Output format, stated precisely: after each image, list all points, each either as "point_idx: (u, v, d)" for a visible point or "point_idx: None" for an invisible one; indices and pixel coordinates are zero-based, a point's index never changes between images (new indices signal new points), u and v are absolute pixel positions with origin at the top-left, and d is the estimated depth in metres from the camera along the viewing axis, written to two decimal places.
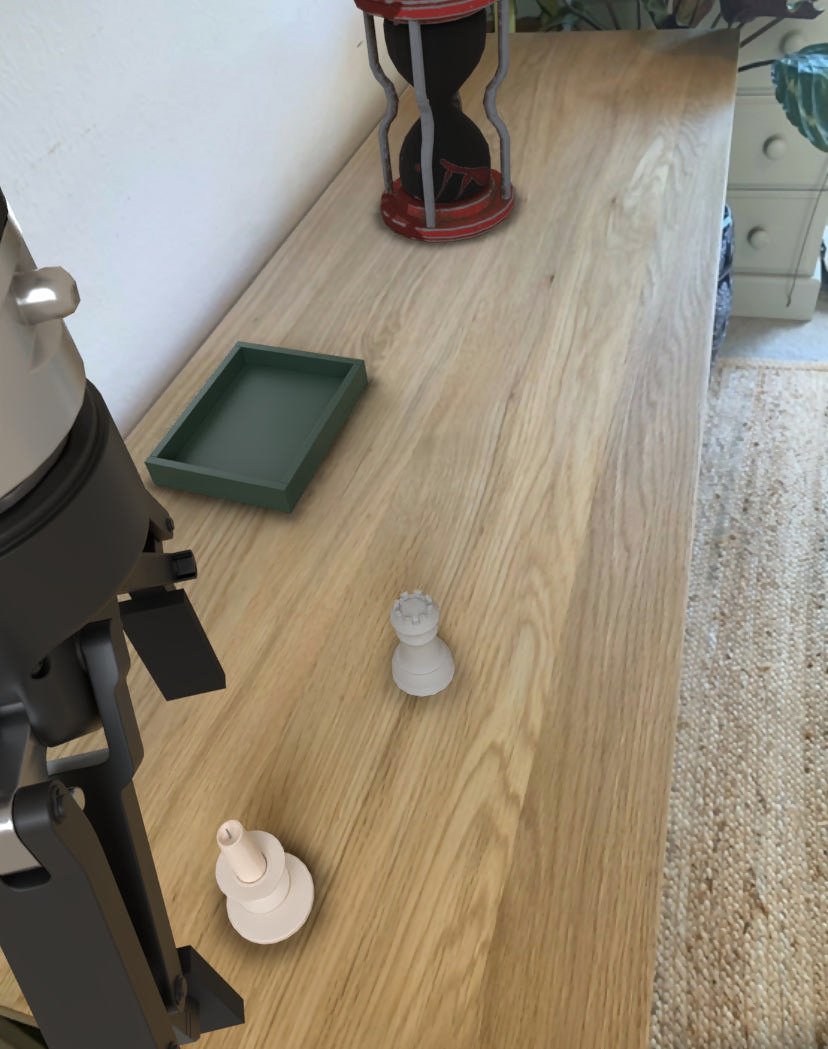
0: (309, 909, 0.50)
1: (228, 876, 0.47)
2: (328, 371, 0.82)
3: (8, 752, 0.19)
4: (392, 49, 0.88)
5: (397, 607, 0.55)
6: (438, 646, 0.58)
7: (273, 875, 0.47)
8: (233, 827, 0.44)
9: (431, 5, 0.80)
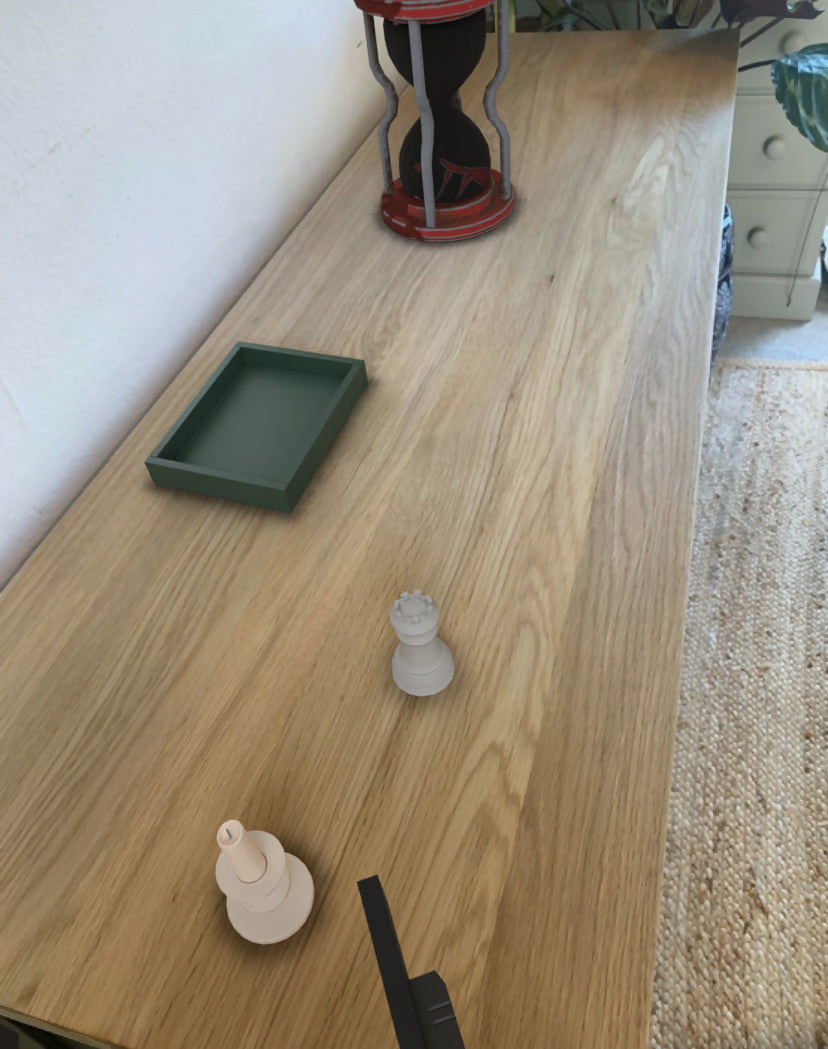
0: (309, 909, 0.50)
1: (229, 876, 0.47)
2: (328, 371, 0.82)
3: None
4: (392, 49, 0.88)
5: (397, 607, 0.55)
6: (438, 646, 0.58)
7: (273, 875, 0.47)
8: (233, 827, 0.44)
9: (431, 5, 0.80)
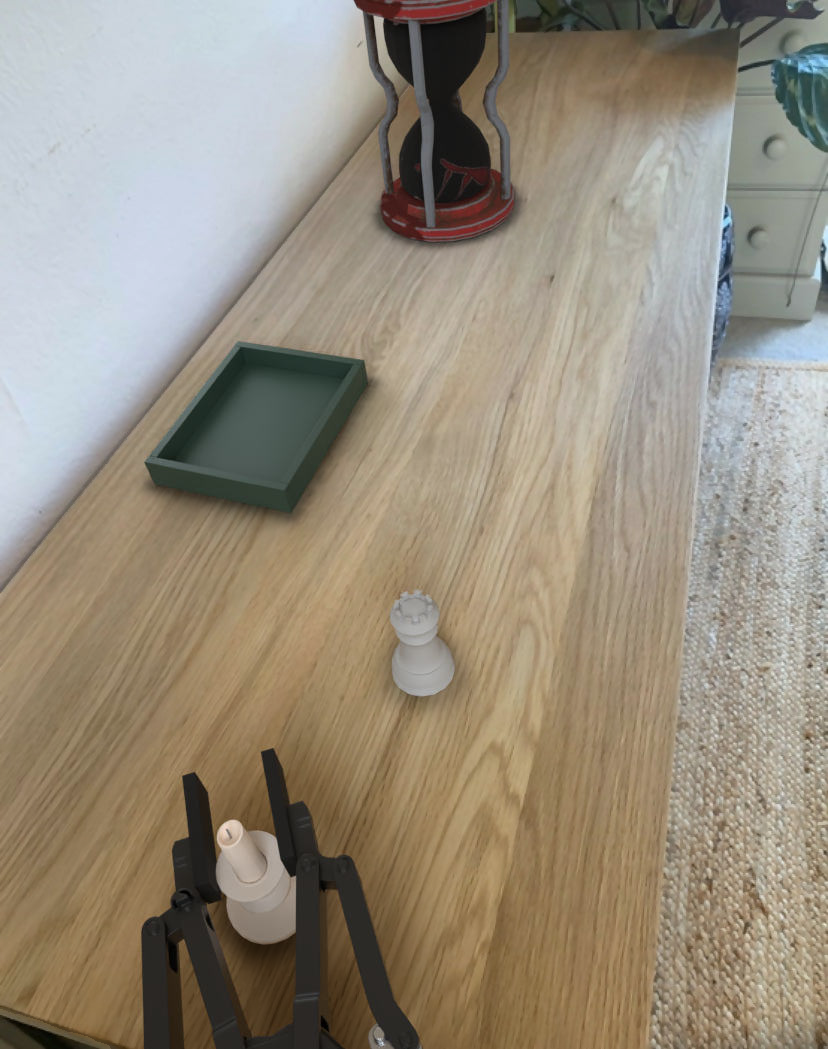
0: None
1: (229, 876, 0.47)
2: (328, 371, 0.82)
3: None
4: (392, 49, 0.88)
5: (397, 607, 0.55)
6: (438, 646, 0.58)
7: (273, 875, 0.47)
8: (233, 827, 0.44)
9: (431, 5, 0.80)
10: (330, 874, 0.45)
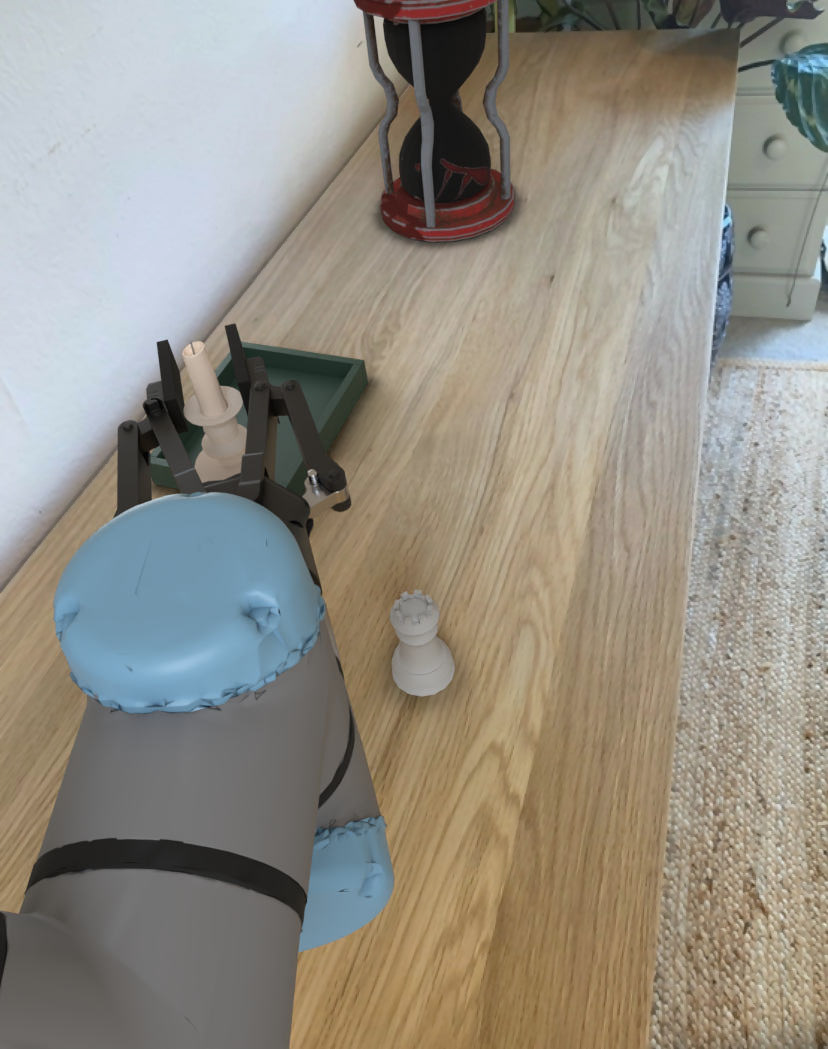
0: None
1: (194, 413, 0.55)
2: (328, 371, 0.82)
3: None
4: (392, 49, 0.88)
5: (397, 607, 0.55)
6: (438, 646, 0.58)
7: (233, 411, 0.54)
8: (197, 347, 0.52)
9: (431, 5, 0.80)
10: (279, 395, 0.53)
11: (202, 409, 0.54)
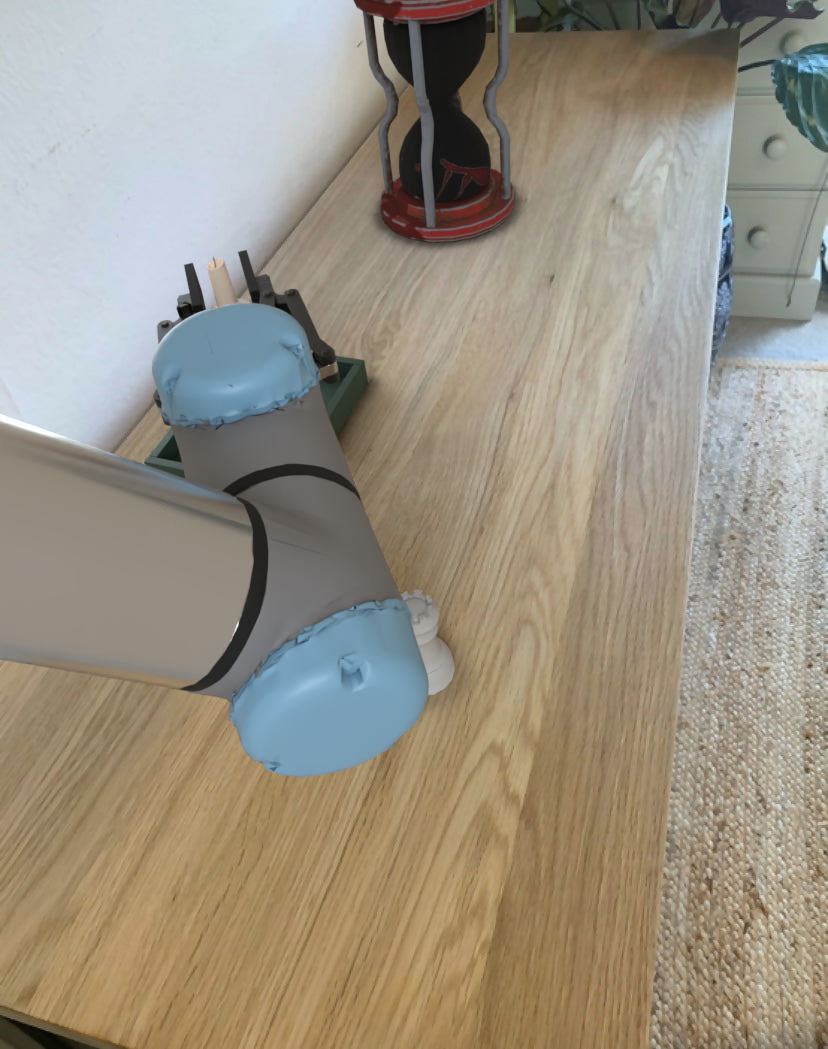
0: None
1: None
2: None
3: None
4: (392, 49, 0.88)
5: None
6: (438, 646, 0.58)
7: None
8: (218, 262, 0.66)
9: (431, 5, 0.80)
10: (282, 301, 0.67)
11: None
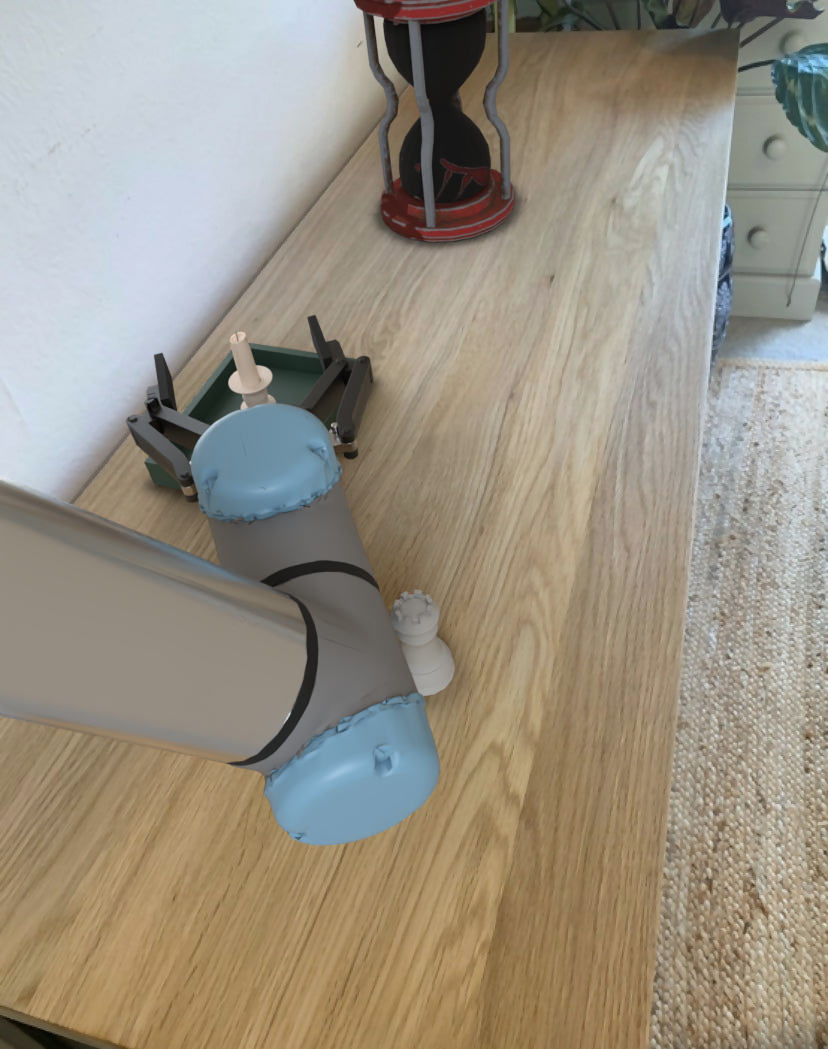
0: None
1: (236, 385, 0.74)
2: None
3: None
4: (392, 49, 0.88)
5: (397, 607, 0.55)
6: (438, 646, 0.58)
7: (265, 383, 0.74)
8: (240, 336, 0.72)
9: (431, 5, 0.80)
10: None
11: (242, 382, 0.74)
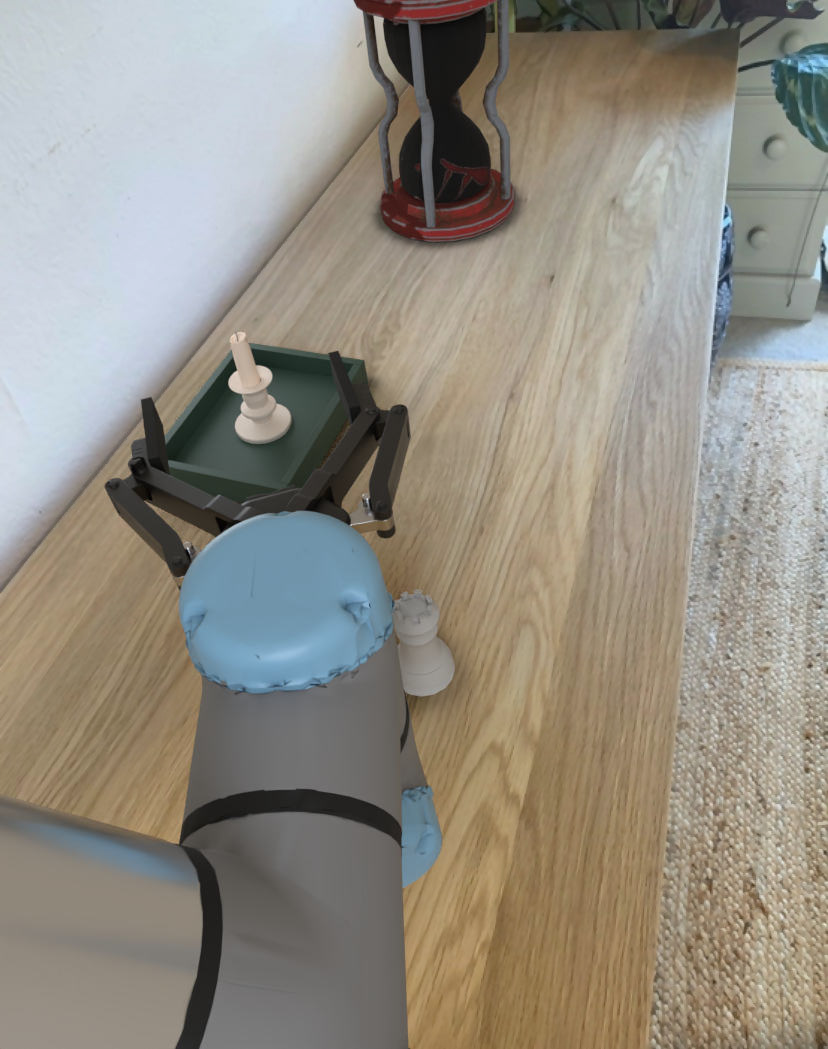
0: (288, 426, 0.77)
1: (236, 385, 0.74)
2: (328, 371, 0.82)
3: None
4: (392, 49, 0.88)
5: (397, 607, 0.55)
6: (438, 646, 0.58)
7: (265, 383, 0.74)
8: (240, 336, 0.72)
9: (431, 5, 0.80)
10: None
11: (242, 382, 0.74)
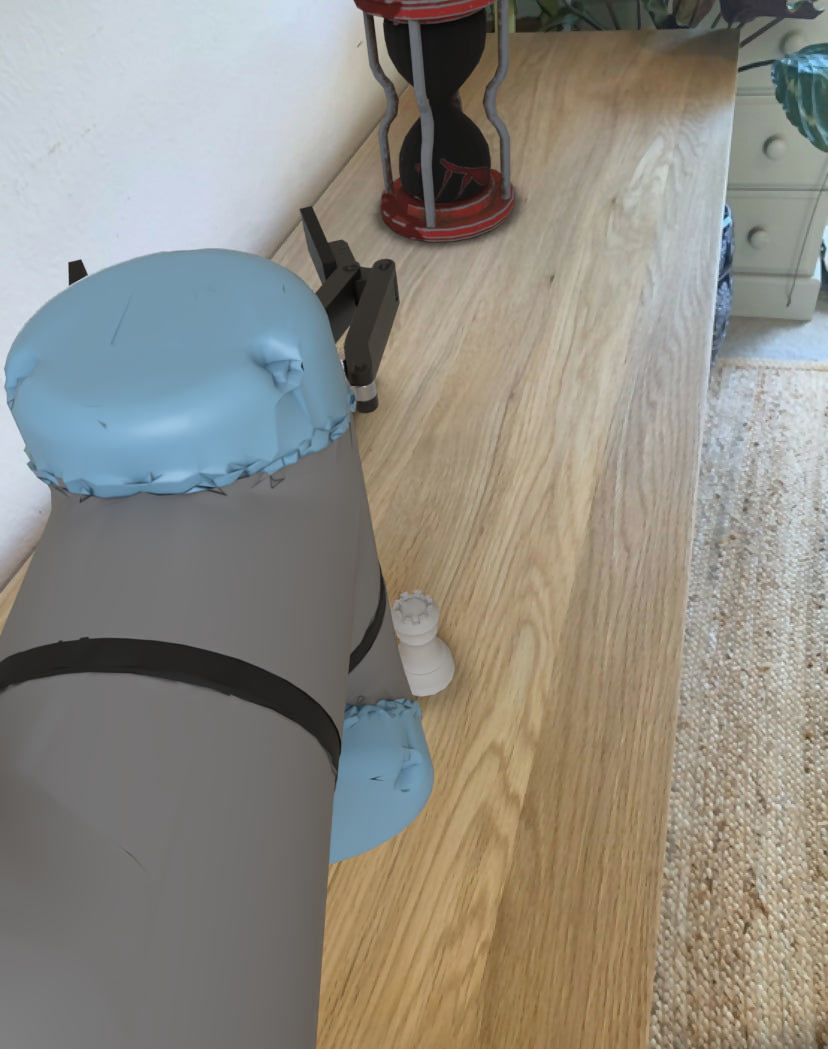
0: None
1: None
2: None
3: None
4: (392, 49, 0.88)
5: (397, 607, 0.55)
6: (438, 646, 0.58)
7: None
8: None
9: (431, 5, 0.80)
10: None
11: None
